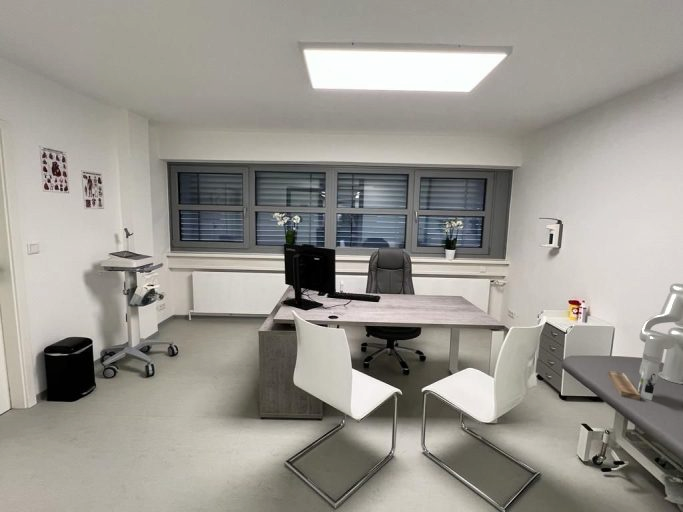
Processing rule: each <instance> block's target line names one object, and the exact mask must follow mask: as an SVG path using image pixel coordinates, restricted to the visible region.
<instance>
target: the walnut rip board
mask: <svg viewBox="0 0 683 512" xmlns="http://www.w3.org/2000/svg"><path fill="white" fill-rule="evenodd" d="M607 376H608V378H609V377H610V378H609V379H610V381H611V383H612V382H613V383H612V384H613V386H614V387H615V389H616V390H617V392H618V394H619V396H620V397H623V398H627V399H632V400H637V401H638V402H640V401H641V399H642V398H641V395H640V393H639V392H638V388H636V386H635V385H634V384H633V382H632V380H630V378H629V377H628V375H627V374H626V373H624V372H619V371H613V370H608V372H607Z"/></svg>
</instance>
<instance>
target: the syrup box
mask: <svg viewBox="0 0 683 512" xmlns="http://www.w3.org/2000/svg"><path fill="white" fill-rule="evenodd" d="M643 376H644V372H643V373H642V376H641V375H640V379H639V382H638V388H637V391H638V392H639V393H640V395H641V398H640V399H643V400H644V399H646V400H648V401H653V396H654V392H655V386H656V384H655V385H654V390H653V393H652V394H651V393H647V392H645V387H646V385H647V380H645V379H644V378H643ZM649 380H651V379H649ZM650 382H652V381H649V383H650Z"/></svg>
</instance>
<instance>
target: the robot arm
mask: <svg viewBox="0 0 683 512" xmlns="http://www.w3.org/2000/svg"><path fill="white" fill-rule="evenodd" d="M666 323H674V324H675V325H676V326H677V327H671V328H670V329H668V332H667V333H664V332H660V331H657V330H652V328H653V327H654V326H655V325H659V324H666ZM639 340H640V341H641V342H644V347H643V353H642V358H641V359H642V360H641V363H640V366H639V374H640V377H641V376H642V373H643V372H644V376H643V378H644V379H645V380H647V385H646V387H645V392H647V393H651V394H652V393H653V394H654V392H653V390H654V391H655V388H654V385H655V386H656V385H657V381H658V380H659V379H658V378H661V379H663V380H666V381H668V382H671V383H674V384H679V385H683V283H672V284H671V285H670V286H669V293H668V295H667V297H666V299H665V301H664V304H663V306H662V308H661V311H660V313H658V314H657V315H654V316H652V317H650V318H648V319H647V320H646V321H645V322H644V324H643V325H642V328H641V330H640V333H639ZM665 350H666V353H665V356H664V352H665ZM663 356H664V357H665V358H664V362H663V366H662V371H660V365H661V364H662V361H663ZM649 379H651V380H649ZM649 381H652V382H650V383H649Z"/></svg>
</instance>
